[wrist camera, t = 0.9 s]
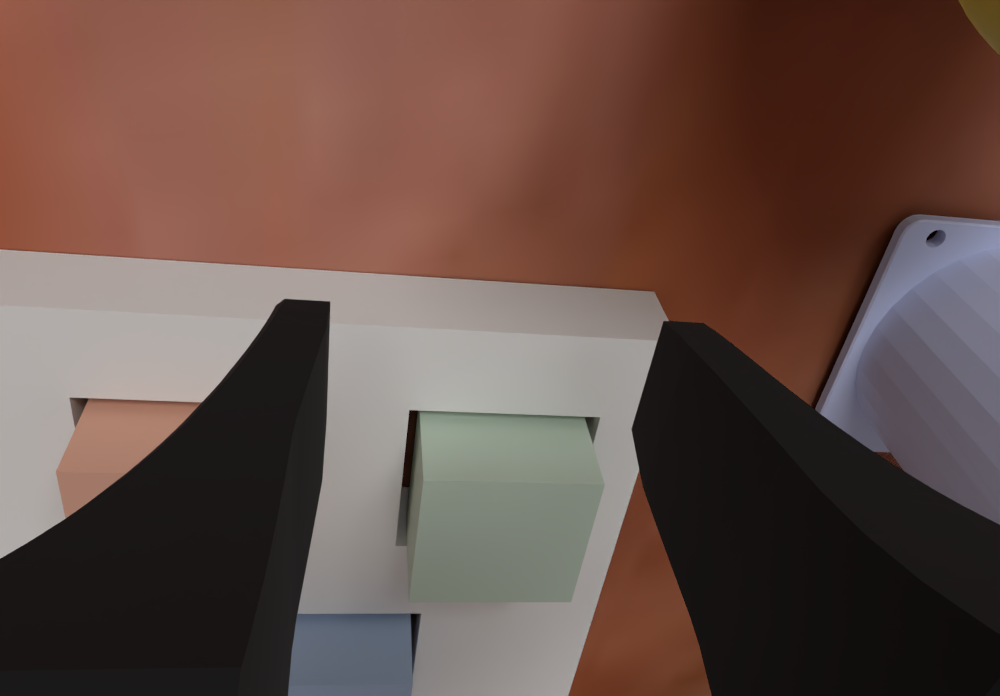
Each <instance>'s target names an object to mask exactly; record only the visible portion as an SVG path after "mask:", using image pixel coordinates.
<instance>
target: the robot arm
mask: <svg viewBox="0 0 1000 696" xmlns="http://www.w3.org/2000/svg"><path fill="white" fill-rule="evenodd" d="M935 230H937V233H936V235H935V236H934V237H933V238H931V239H930V240H926V239H927V237H928V236H929V234H930V233H932V232H934V231H935ZM329 331H330V301H314V300H297V299H284V300H282V301H281V302H280V303H278V304H277V305H276V306H275V308H274V310H273V312H272V313H271V315H270V317H269V318H268V320H267V321H266V323H265V324H264V326H263V327H262V329H261V330H260V332H259V333H258V335H257V336H256V338H255V339H254V340H253V342H252V343H251V344H250V346H249V347H248V348H247V350H246V351H245V352H244V354H243V355H242V356H241V357H240V359H239V360H238V361H237V362H236V364H235V365H234V366H233V367H232V368H231V370H230V371H229V372H228V373H227V375H226V376H225V377H224V378H223V380H222V381H221V382H220V383H219V384H218V385H217V387H216V388H215V389H214V390H213V391H212V392H211V393H210V394H209V395H208V396H207V397H206V398H205V400H204V401H203V402H202V403H201V404H200V405H199V406H198V407H197V408H196V409H195V410H194V411H193V412H192V413H191V414H190V415H189V416H188V418H187V419H186V420H185V421H184V422H183V423H182V424H181V425H180V426H179V427H178V428H177V429H176V430H175V431H174V432H172V433H171V434H170V435H169V436H168V437H167V438H166V439H165V440H164V441H163V442H162V443H161V444H160V445H159V446H157V447H156V448H155V449H154V450H153V451H152V452H151V453H150V454H148V455H147V456H146V457H145V458H144V459H143V460H141V461H140V462H139V463H138V464H137V465H136V466H134V467H133V468H132V469H131V470H130V471H128V472H127V473H126V474H125V475H123V476H122V477H121V478H119V479H118V480H117V481H116V482H114V483H113V484H112V485H110V486H109V487H108V488H106V489H105V490H104V491H103V492H101V493H100V494H99V495H97V496H96V497H95V498H93V499H92V500H91V501H90V502H88V503H87V504H85V505H84V506H83V507H81V508H80V509H78V510H77V511H76V512H74V513H73V514H71V515H70V516H68V517H67V518H66V519H64V520H63V521H61V522H60V523H58V524H56V525H55V526H53V527H52V528H50V529H48V530H47V531H45V532H44V533H42V534H41V535H39V536H37V537H36V538H34V539H33V540H31V541H29V542H28V543H26V544H24V545H23V546H21V547H19V548H18V549H16V550H14V551H12V552H11V553H9V554H7V555H6V556H4V557H2V558H1V559H0V696H288V689H289V678H290V666H291V655H292V646H293V639H294V632H295V625H296V619H297V613H298V608H299V603H300V597H301V592H302V587H303V581H304V576H305V571H306V565H307V560H308V555H309V550H310V544H311V539H312V534H313V528H314V523H315V518H316V512H317V507H318V501H319V496H320V491H321V485H322V478H323V464H324V450H325V436H326V421H327V393H328V362H329ZM631 430H632V435H633V440H634V445H635V451H636V456H637V461H638V466H639V470H640V475H641V479H642V484H643V488H644V491H645V494H646V497H647V500H648V503H649V505H650V508H651V511H652V514H653V517H654V519H655V522H656V525H657V528H658V531H659V533H660V536H661V539H662V542H663V544H664V547H665V550H666V552H667V555H668V558H669V560H670V563H671V566H672V569H673V571H674V574H675V577H676V579H677V582H678V585H679V588H680V590H681V593H682V596H683V598H684V601H685V604H686V607H687V609H688V612H689V615H690V617H691V621H692V624H693V627H694V630H695V633H696V636H697V639H698V643H699V646H700V650H701V654H702V658H703V662H704V666H705V670H706V674H707V678H708V682H709V686H710V690H711V694H712V696H1000V221H993V220H981V219H970V218H958V217H946V216H935V215H923V214H918V215H912V216H910V217H907V218H905V219H904V220H903V221H902V222H901V223H899V225H898V226H897V228H896V229H895V231H894V234H893V236H892V238H891V240H890V243H889V245H888V247H887V249H886V251H885V254H884V256H883V258H882V260H881V263H880V265H879V267H878V269H877V272H876V274H875V276H874V278H873V280H872V283H871V285H870V287H869V289H868V292H867V294H866V296H865V298H864V301H863V303H862V305H861V307H860V310H859V312H858V314H857V316H856V318H855V321H854V323H853V325H852V327H851V330H850V332H849V334H848V336H847V339H846V341H845V343H844V345H843V347H842V350H841V352H840V354H839V356H838V359H837V361H836V363H835V365H834V368H833V370H832V372H831V374H830V377H829V379H828V381H827V383H826V385H825V388H824V390H823V392H822V394H821V397H820V399H819V401H818V403H817V406H816V408H815V409H813V408H812V407H811V406H809V405H808V404H807V403H806V402H804V401H803V400H802V399H800V398H799V397H798V396H797V395H795V394H794V393H793V392H791V391H790V390H789V389H788V388H786V387H785V386H784V385H783V384H781V383H780V382H779V381H778V380H776V379H775V378H774V377H773V376H771V375H770V374H769V373H768V372H766V371H765V370H764V369H763V368H762V367H760V366H759V365H758V364H757V363H755V362H754V361H753V360H752V359H750V358H749V357H748V356H747V355H745V354H744V353H743V352H742V351H740V350H739V349H738V348H737V347H735V346H734V345H733V344H732V343H730V342H729V341H728V340H726V339H725V338H724V337H722V336H721V335H720V334H718V333H717V332H716V331H714V330H713V329H711V328H710V327H708V326H707V325H705V324H704V323H691V322H674V321H663V324H662V328H661V331H660V334H659V338H658V341H657V344H656V348H655V351H654V355H653V358H652V361H651V365H650V368H649V371H648V375H647V378H646V382H645V385H644V388H643V392H642V395H641V398H640V402H639V405H638V409H637V412H636V415H635V419H634V422H633V425H632V429H631ZM875 452H890V453H891V454H892V455H893V457H894V458H895V459H896V461H897V462H898V464H899V465H900V466H901V468H902V469H903V470H901V469H900V468H898V467H896V466H895V465H893V464H891V463H890V462H888V461H887V460H885V459H884V458H882V457H881V456H879V455H878V454H876V453H875Z"/></svg>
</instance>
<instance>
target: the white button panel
mask: <svg viewBox="0 0 1000 696" xmlns="http://www.w3.org/2000/svg"><path fill="white" fill-rule="evenodd" d="M284 299H297V300H314V301H330V331H329V362H328V393H327V421H326V436H325V450H324V464H323V478H322V485H321V491H320V496H319V501H318V507H317V512H316V518H315V523H314V528H313V534H312V539H311V544H310V550H309V555H308V560H307V565H306V571H305V576H304V581H303V587H302V592H301V597H300V603H299V608H298V613H297V614H405V613H411V643H412V674H413V686H412V693H411V696H568V695H569V691H570V688H571V685H572V682H573V679H574V675H575V672H576V669H577V666H578V663H579V659H580V656H581V653H582V650H583V647H584V644H585V640H586V637H587V634H588V631H589V628H590V624H591V621H592V618H593V615H594V612H595V609H596V605H597V602H598V599H599V596H600V593H601V589H602V586H603V583H604V580H605V577H606V574H607V570H608V567H609V564H610V561H611V558H612V554H613V551H614V548H615V545H616V542H617V538H618V535H619V532H620V529H621V526H622V523H623V519H624V516H625V513H626V510H627V507H628V503H629V500H630V497H631V494H632V491H633V488H634V484H635V481H636V478H637V475H638V472H639V466H638V461H637V456H636V451H635V445H634V440H633V435H632V430H631V429H632V425H633V422H634V419H635V415H636V412H637V409H638V405H639V402H640V398H641V395H642V392H643V388H644V385H645V382H646V378H647V375H648V371H649V368H650V365H651V361H652V358H653V355H654V351H655V348H656V344H657V341H658V338H659V334H660V331H661V328H662V324H663V321H669V320H668V318H667V316H666V314H665V312H664V310H663V308H662V306H661V304H660V302H659V300H658V298H657V296H656V294H655V292H652V291H636V290H621V289H605V288H590V287H574V286H559V285H543V284H528V283H512V282H496V281H481V280H465V279H450V278H434V277H419V276H403V275H388V274H372V273H357V272H341V271H326V270H310V269H295V268H279V267H264V266H248V265H233V264H217V263H202V262H186V261H170V260H155V259H139V258H124V257H108V256H93V255H77V254H62V253H46V252H31V251H15V250H0V559H1V558H2V557H4V556H6V555H7V554H9V553H11V552H12V551H14V550H16V549H18V548H19V547H21V546H23V545H24V544H26V543H28V542H29V541H31V540H33V539H34V538H36V537H37V536H39V535H41V534H42V533H44V532H45V531H47V530H48V529H50V528H52V527H53V526H55V525H56V524H58V523H60V522H61V521H63V520H64V519H66V518H65V513H64V509H63V504H62V499H61V494H60V490H59V485H58V480H57V475H56V470H57V468H58V466H59V464H60V461H61V459H62V457H63V455H64V452H65V450H66V448H67V446H68V444H69V441H70V439H71V437H72V435H73V433H74V430H75V428H76V426H77V424H78V421H79V419H80V417H81V415H82V413H83V410H84V408H85V406H86V404H87V401H88V399H89V398H97V399H124V400H150V401H177V402H203V401H204V400H205V398H206V397H207V396H208V395H209V394H210V393H211V392H212V391H213V390H214V389H215V388H216V387H217V385H218V384H219V383H220V382H221V381H222V380H223V378H224V377H225V376H226V375H227V373H228V372H229V371H230V370H231V368H232V367H233V366H234V365H235V364H236V362H237V361H238V360H239V359H240V357H241V356H242V355H243V354H244V352H245V351H246V350H247V348H248V347H249V346H250V344H251V343H252V342H253V340H254V339H255V338H256V336H257V335H258V333H259V332H260V330H261V329H262V327H263V326H264V324H265V323H266V321H267V320H268V318H269V317H270V315H271V313H272V312H273V310H274V308H275V306H276V305H277V304H278V303H280V302H281V301H282V300H284ZM409 410H419V411H446V412H473V413H499V414H526V415H553V416H580V417H585V420H586V423H587V427H588V430H589V433H590V437H591V440H592V443H593V447H594V450H595V453H596V457H597V460H598V463H599V467H600V470H601V473H602V477H603V480H604V483H605V486H604V489H603V493H602V496H601V500H600V503H599V507H598V510H597V514H596V517H595V521H594V524H593V528H592V531H591V535H590V538H589V542H588V545H587V549H586V552H585V556H584V559H583V562H582V566H581V569H580V573H579V576H578V580H577V583H576V587H575V590H574V594H573V597H572V601H571V602H409V595H408V562H407V529H406V515H407V506H408V497H409V488H410V487H402V477H403V467H404V457H405V448H406V438H407V428H408V418H409Z"/></svg>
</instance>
